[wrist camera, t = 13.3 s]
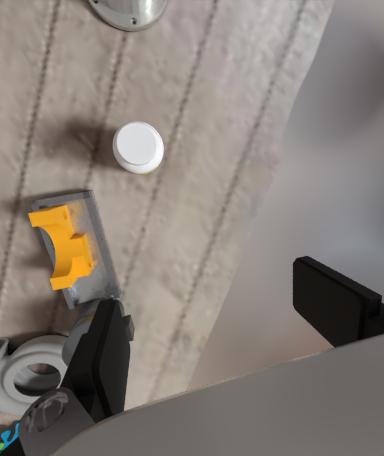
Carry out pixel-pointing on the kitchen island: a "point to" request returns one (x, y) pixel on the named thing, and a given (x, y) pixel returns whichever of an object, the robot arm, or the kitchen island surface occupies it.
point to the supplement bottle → (138, 147)
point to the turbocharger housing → (29, 372)
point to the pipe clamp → (64, 246)
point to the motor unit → (102, 261)
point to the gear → (2, 444)
